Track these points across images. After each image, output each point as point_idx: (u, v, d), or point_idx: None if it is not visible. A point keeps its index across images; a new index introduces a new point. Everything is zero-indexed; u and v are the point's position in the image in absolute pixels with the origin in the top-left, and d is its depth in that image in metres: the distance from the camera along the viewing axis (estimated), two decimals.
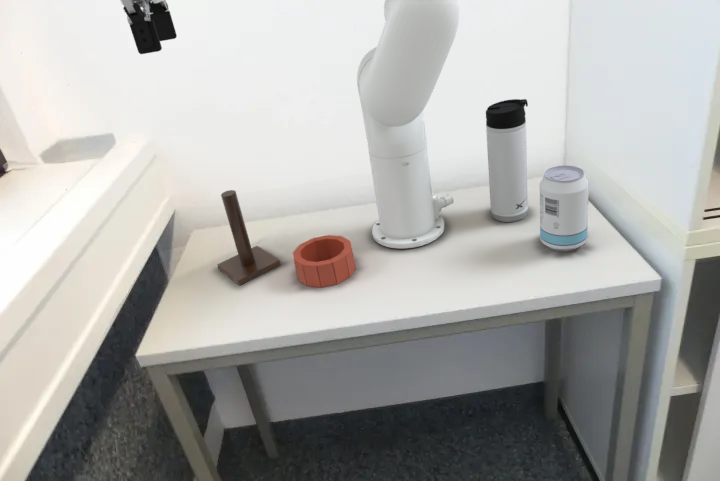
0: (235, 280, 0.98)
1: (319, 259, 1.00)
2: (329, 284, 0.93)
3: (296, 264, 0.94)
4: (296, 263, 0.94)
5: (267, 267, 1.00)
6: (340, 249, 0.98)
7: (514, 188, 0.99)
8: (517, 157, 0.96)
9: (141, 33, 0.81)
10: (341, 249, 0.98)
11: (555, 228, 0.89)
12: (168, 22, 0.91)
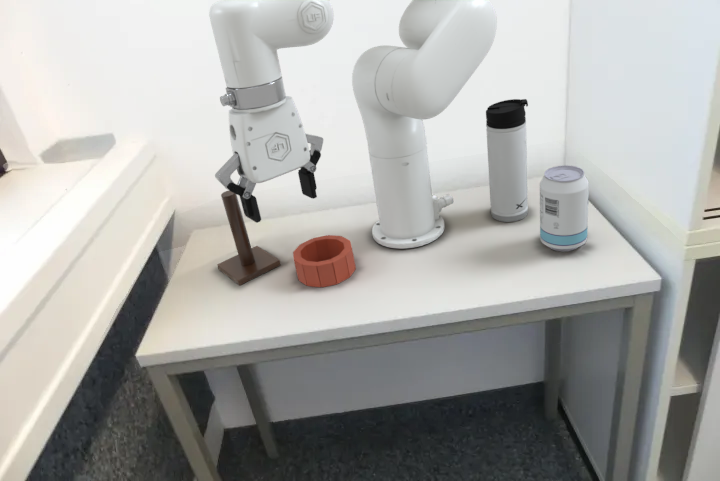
0: (235, 280, 0.98)
1: (319, 259, 1.00)
2: (329, 284, 0.93)
3: (296, 264, 0.94)
4: (296, 263, 0.94)
5: (267, 267, 1.00)
6: (340, 249, 0.98)
7: (515, 188, 0.99)
8: (517, 157, 0.96)
9: (243, 204, 0.85)
10: (341, 249, 0.98)
11: (555, 228, 0.89)
12: (308, 184, 0.89)
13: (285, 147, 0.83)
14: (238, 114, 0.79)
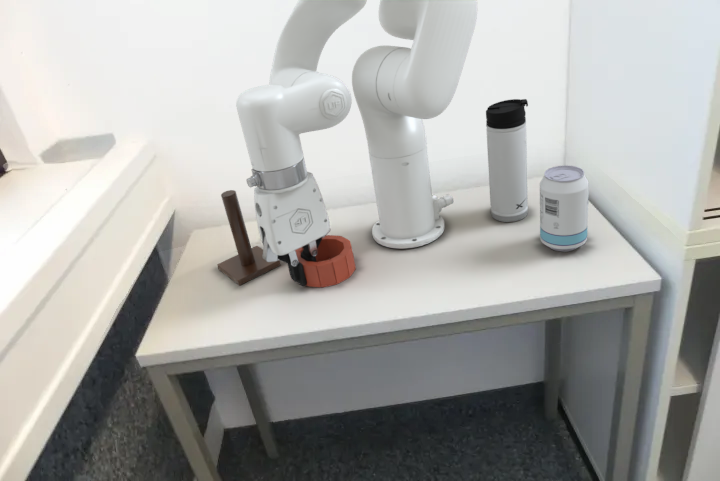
0: (235, 280, 0.98)
1: (319, 259, 1.00)
2: (329, 284, 0.93)
3: None
4: None
5: (267, 267, 1.00)
6: (340, 249, 0.98)
7: (515, 188, 0.99)
8: (517, 157, 0.96)
9: (291, 270, 0.93)
10: (341, 249, 0.98)
11: (555, 228, 0.89)
12: None
13: (307, 221, 0.89)
14: (264, 194, 0.84)
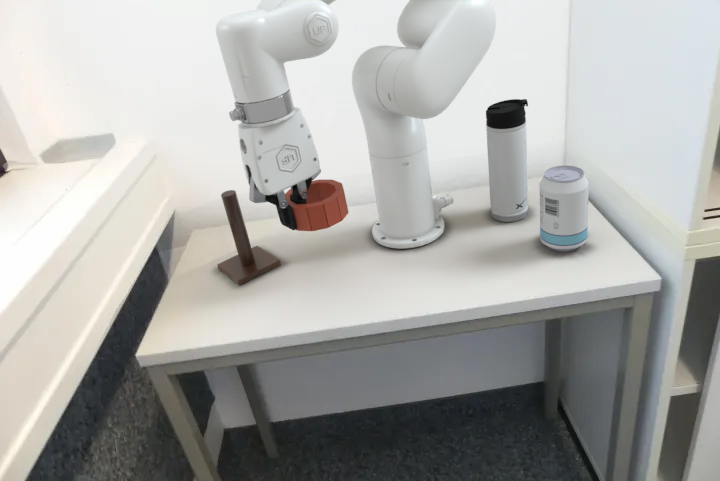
0: (235, 280, 0.98)
1: None
2: (320, 228, 0.89)
3: None
4: None
5: (267, 267, 1.00)
6: (332, 193, 0.94)
7: (515, 188, 0.99)
8: (517, 157, 0.96)
9: (280, 213, 0.89)
10: (333, 193, 0.93)
11: (555, 228, 0.89)
12: None
13: (295, 158, 0.84)
14: (248, 128, 0.80)
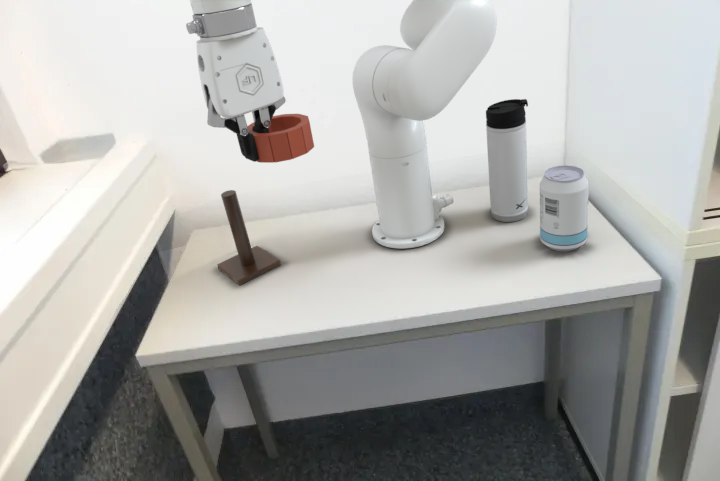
0: (235, 280, 0.98)
1: None
2: (283, 159, 0.84)
3: None
4: None
5: (267, 267, 1.00)
6: None
7: (515, 188, 0.99)
8: (517, 157, 0.96)
9: (241, 142, 0.84)
10: None
11: (555, 228, 0.89)
12: None
13: (257, 80, 0.79)
14: (206, 42, 0.75)
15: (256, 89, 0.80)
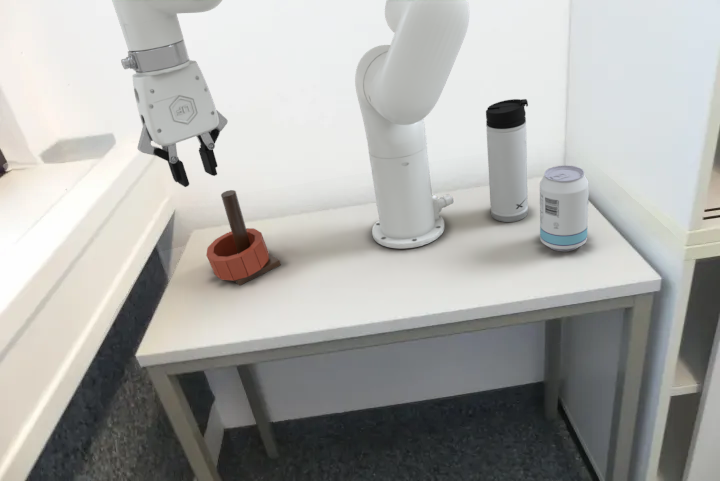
0: (235, 280, 0.98)
1: (237, 252, 1.04)
2: (241, 277, 0.97)
3: (209, 260, 0.98)
4: (209, 259, 0.98)
5: (267, 267, 1.00)
6: None
7: (515, 188, 0.99)
8: (517, 157, 0.96)
9: (171, 169, 0.89)
10: None
11: (555, 228, 0.89)
12: (208, 161, 0.91)
13: (191, 110, 0.85)
14: (139, 77, 0.81)
15: (190, 118, 0.85)
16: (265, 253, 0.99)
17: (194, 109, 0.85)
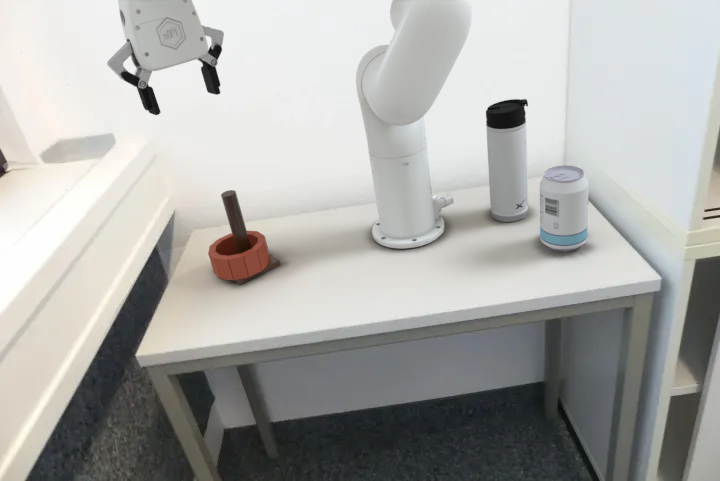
0: (235, 280, 0.98)
1: (237, 253, 1.04)
2: (241, 277, 0.97)
3: (210, 258, 0.98)
4: (210, 257, 0.98)
5: (267, 267, 1.00)
6: (256, 244, 1.02)
7: (515, 188, 0.99)
8: (517, 157, 0.96)
9: (141, 96, 0.85)
10: (257, 244, 1.02)
11: (555, 228, 0.89)
12: (210, 78, 0.89)
13: (179, 34, 0.83)
14: None
15: (178, 43, 0.83)
16: (267, 256, 1.00)
17: (182, 33, 0.83)
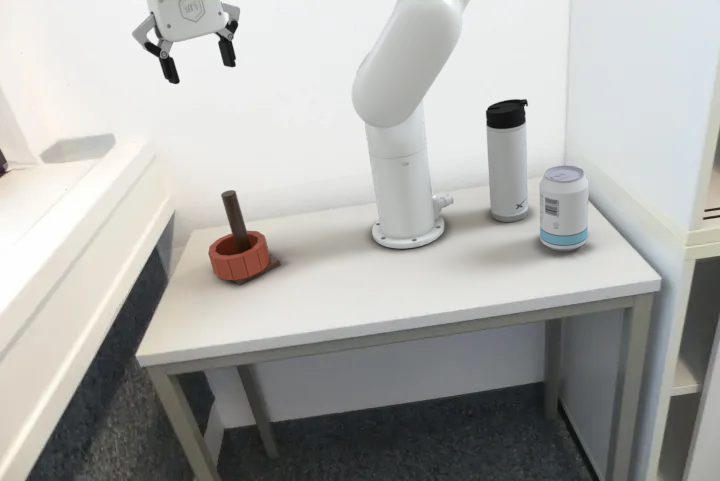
0: (235, 280, 0.98)
1: (237, 253, 1.04)
2: (241, 277, 0.97)
3: (210, 258, 0.98)
4: (210, 257, 0.98)
5: (267, 267, 1.00)
6: (256, 244, 1.02)
7: (515, 188, 0.99)
8: (517, 157, 0.96)
9: (162, 66, 0.91)
10: (257, 244, 1.02)
11: (555, 228, 0.89)
12: (227, 52, 0.95)
13: (199, 8, 0.89)
14: None
15: (198, 17, 0.89)
16: (267, 256, 1.00)
17: (202, 8, 0.89)
